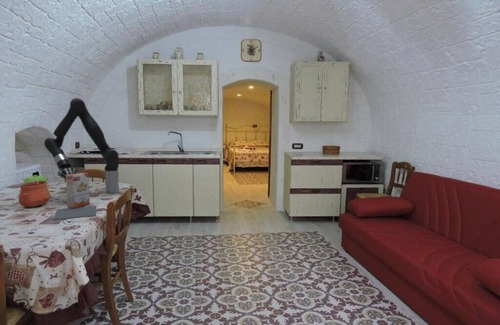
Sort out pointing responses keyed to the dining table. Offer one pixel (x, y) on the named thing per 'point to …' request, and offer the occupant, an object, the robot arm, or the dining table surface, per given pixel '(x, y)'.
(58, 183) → the dining table surface
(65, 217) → the rubber mat
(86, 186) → the cracker box
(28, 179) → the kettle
